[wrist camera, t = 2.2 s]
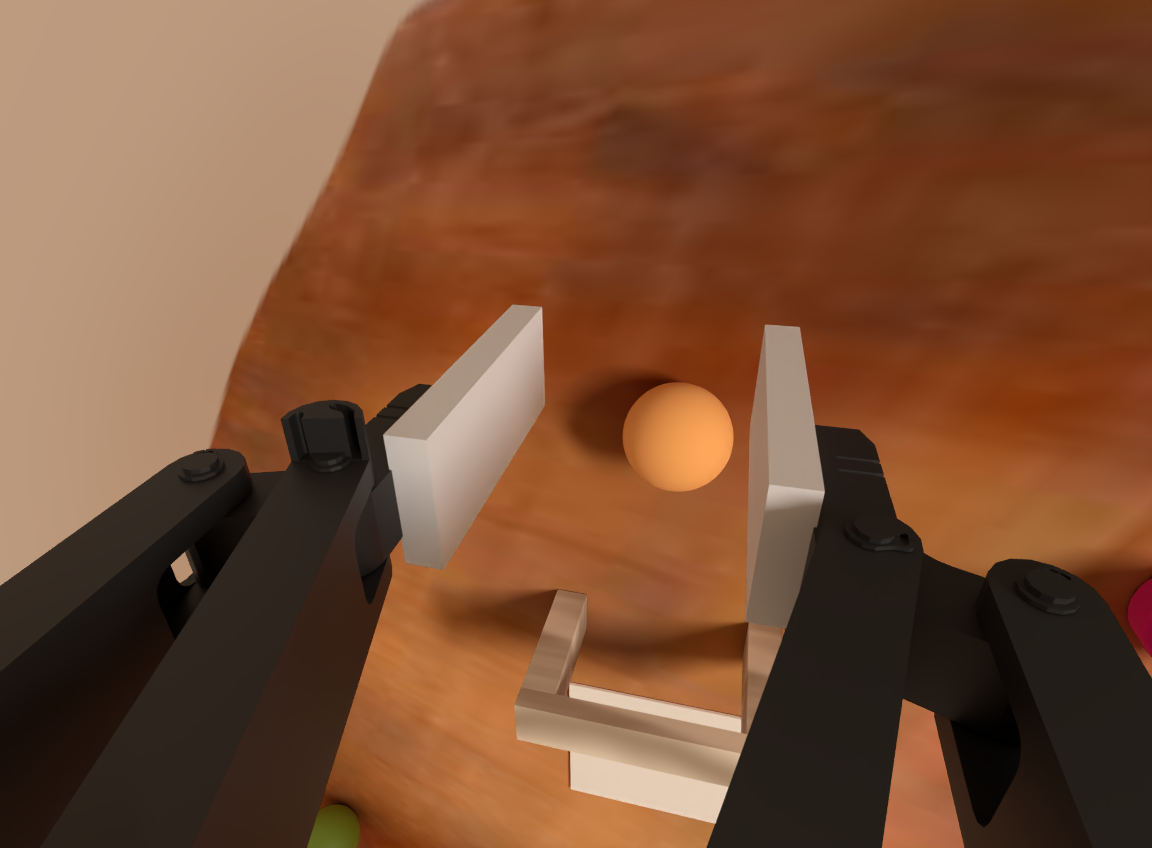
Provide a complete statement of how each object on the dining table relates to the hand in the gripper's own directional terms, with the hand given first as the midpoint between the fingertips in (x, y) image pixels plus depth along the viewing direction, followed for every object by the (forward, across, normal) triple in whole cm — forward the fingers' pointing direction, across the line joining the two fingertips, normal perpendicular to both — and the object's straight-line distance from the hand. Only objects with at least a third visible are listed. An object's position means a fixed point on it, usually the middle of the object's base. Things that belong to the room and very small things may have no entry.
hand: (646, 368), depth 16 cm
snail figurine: (+17, +30, +59) cm, 68 cm away
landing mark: (+17, 0, +40) cm, 43 cm away
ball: (+14, 0, +10) cm, 17 cm away
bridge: (+17, 0, +26) cm, 31 cm away
